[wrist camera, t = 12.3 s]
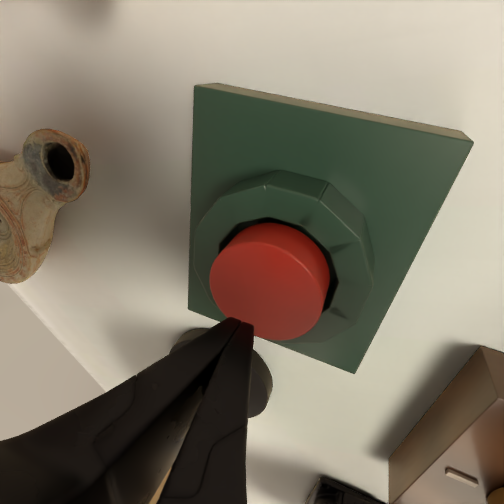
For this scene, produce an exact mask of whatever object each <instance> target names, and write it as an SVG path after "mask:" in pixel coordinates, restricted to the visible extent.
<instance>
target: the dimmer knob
mask: <svg viewBox="0 0 504 504" xmlns="http://www.w3.org/2000/svg"><path fill="white" fill-rule="evenodd" d="M487 504H504V487H501V488H499V489H496V490H494V491H493V492H492V493H490V495H489V496H488V498H487Z"/></svg>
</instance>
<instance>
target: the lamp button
mask: <svg viewBox="0 0 504 504" xmlns="http://www.w3.org/2000/svg"><path fill="white" fill-rule="evenodd" d="M329 282H330V273H329V268H328V264H327V261H326V259H325V257H324V255H323V253H322V252H321V250H320V249H319V248H318V246H317V245H316V244H315V243H314V242H313V241H312V240H311V239H310V238H309V237H307V236H306V235H305V234H303V233H302V232H300V231H298V230H296V229H294V228H292V227H289V226H286V225H282V224H277V223H261V224H255V225H252V226H249V227H247V228H245V229H243V230H242V231H240V232H239V233H238V234H237V235H236V236H235V237H234V238H233V239H232V240H231V241H230V243H229V244H228V245H227V246H226V247H225V248H224V249H223V250H222V251H221V253H220V254H219V255H218V256H217V257H216V259H215V260H214V262H213V264H212V267H211V270H210V289H211V292H212V295H213V298H214V300H215V302H216V304H217V306H218V307H219V309H220V310H221V311H222V313H223V314H224V315H225V316H226V317H227V318H228V317H234V318H236V319H239V320H241V321H242V322H247V323H249V324H252V325H254V336H257V337H260V338H264V339H269V340H289V339H294V338H297V337H300V336H302V335H304V334H306V333H307V332H308V331H310V330H311V329H312V328H313V327H314V326H315V325H316V323H317V322H318V320H319V318H320V316H321V313H322V309H323V306H324V302H325V298H326V294H327V291H328V287H329Z"/></svg>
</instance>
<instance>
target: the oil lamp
mask: <svg viewBox="0 0 504 504" xmlns="http://www.w3.org/2000/svg"><path fill="white" fill-rule="evenodd" d="M89 178H90V159H89V153H88V150H87V149H86V148H85V146H84V145H83V144H82V143H81V142H79V141H78V140H77V139H75V138H73V137H71V136H69V135H67V134H65V133H63V132H61V131H57V130H52V129H40V130H37V131H35V132H33V133H32V134H30V135H29V136H28V138H27V140H26V141H25V143H24V145H23V150H22V153H20V154H17V155H15V156H14V161H10V162H0V281H2V282H5V283H10V284H12V283H20V282H23V281H25V280H27V279H28V278H30V277H31V276H32V275H33V274H34V273H35V272H36V271H37V270H38V268H39V267H40V266H41V264H42V262H43V261H44V259H45V257H46V255H47V252H48V250H49V247H50V244H51V242H52V237H53V231H54V221H55V217H56V214H57V212H58V210H59V208H61V207H62V206H63V205H65V203H68V202H71V201H75V200H76V199H77V198H78V197H79V196H80V195H81V194H82V193H83V192H84V191H85V189H86V187H87V184H88V181H89Z"/></svg>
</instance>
